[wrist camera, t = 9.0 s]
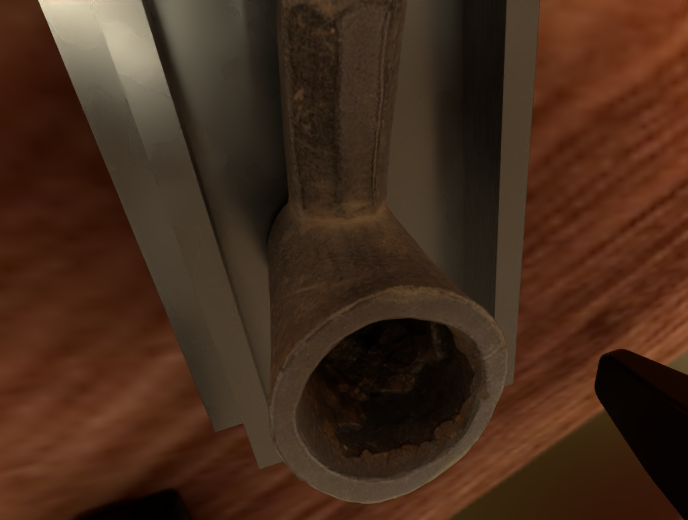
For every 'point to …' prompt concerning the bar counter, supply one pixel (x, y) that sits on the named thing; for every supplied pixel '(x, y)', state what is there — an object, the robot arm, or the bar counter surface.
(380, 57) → the pipe
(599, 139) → the bar counter surface
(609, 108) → the bar counter surface
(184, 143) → the pipe cradle
